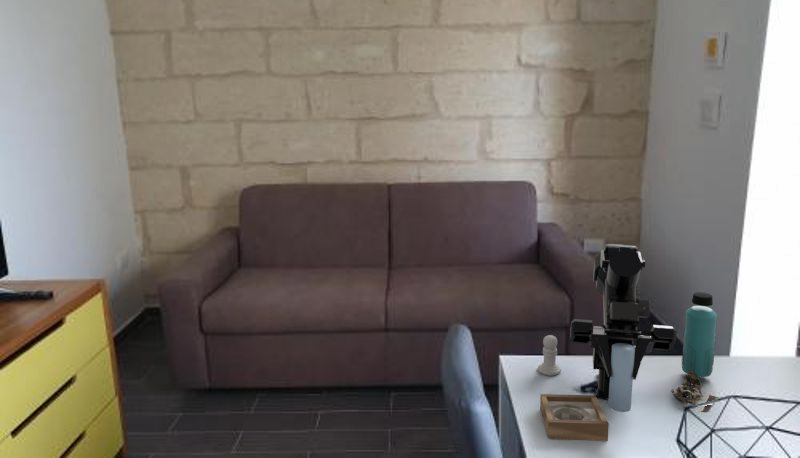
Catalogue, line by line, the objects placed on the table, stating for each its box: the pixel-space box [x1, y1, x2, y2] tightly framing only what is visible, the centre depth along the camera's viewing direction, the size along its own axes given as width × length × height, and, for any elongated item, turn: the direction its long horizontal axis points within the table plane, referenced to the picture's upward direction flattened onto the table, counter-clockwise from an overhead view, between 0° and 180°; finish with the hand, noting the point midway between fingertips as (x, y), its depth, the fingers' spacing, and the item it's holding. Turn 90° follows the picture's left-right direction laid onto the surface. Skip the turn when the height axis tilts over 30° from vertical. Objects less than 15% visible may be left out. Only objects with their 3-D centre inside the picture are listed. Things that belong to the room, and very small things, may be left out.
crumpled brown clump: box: [671, 370, 721, 413], centre depth 127 cm, size 12×6×11 cm
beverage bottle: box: [680, 291, 718, 378], centre depth 136 cm, size 6×7×20 cm
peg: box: [607, 343, 635, 413], centre depth 112 cm, size 4×4×12 cm
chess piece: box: [537, 334, 562, 377], centre depth 141 cm, size 5×5×9 cm
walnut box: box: [539, 393, 610, 442], centre depth 119 cm, size 11×11×4 cm
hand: (622, 377), depth 111 cm, fingers closed on peg, 4 cm apart
